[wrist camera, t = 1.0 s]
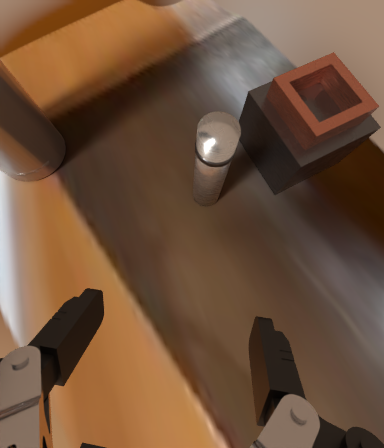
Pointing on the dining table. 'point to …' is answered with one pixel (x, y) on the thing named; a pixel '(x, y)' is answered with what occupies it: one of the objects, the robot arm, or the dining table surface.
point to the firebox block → (305, 121)
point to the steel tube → (214, 155)
